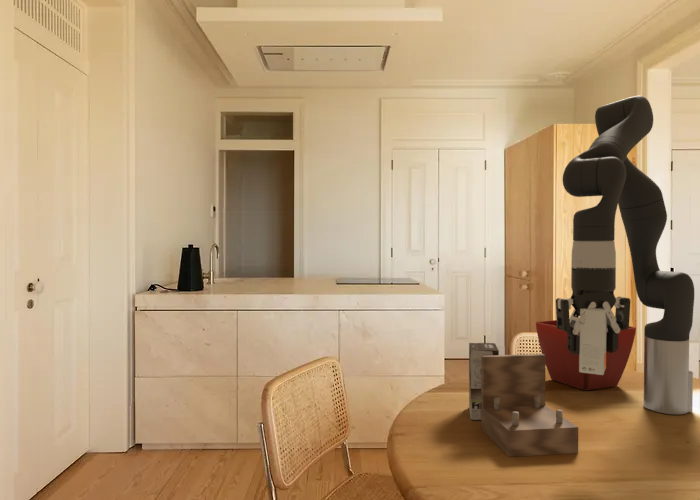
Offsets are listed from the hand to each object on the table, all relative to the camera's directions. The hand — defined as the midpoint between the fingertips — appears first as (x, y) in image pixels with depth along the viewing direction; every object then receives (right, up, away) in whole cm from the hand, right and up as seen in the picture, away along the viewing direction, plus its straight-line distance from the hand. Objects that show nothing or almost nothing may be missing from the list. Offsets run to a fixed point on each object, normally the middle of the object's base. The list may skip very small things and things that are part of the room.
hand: (592, 352), depth 96 cm
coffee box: (-14, -19, +24) cm, 34 cm away
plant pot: (+21, -19, +49) cm, 56 cm away
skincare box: (0, -4, 0) cm, 4 cm away
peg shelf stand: (-10, -20, +8) cm, 23 cm away
